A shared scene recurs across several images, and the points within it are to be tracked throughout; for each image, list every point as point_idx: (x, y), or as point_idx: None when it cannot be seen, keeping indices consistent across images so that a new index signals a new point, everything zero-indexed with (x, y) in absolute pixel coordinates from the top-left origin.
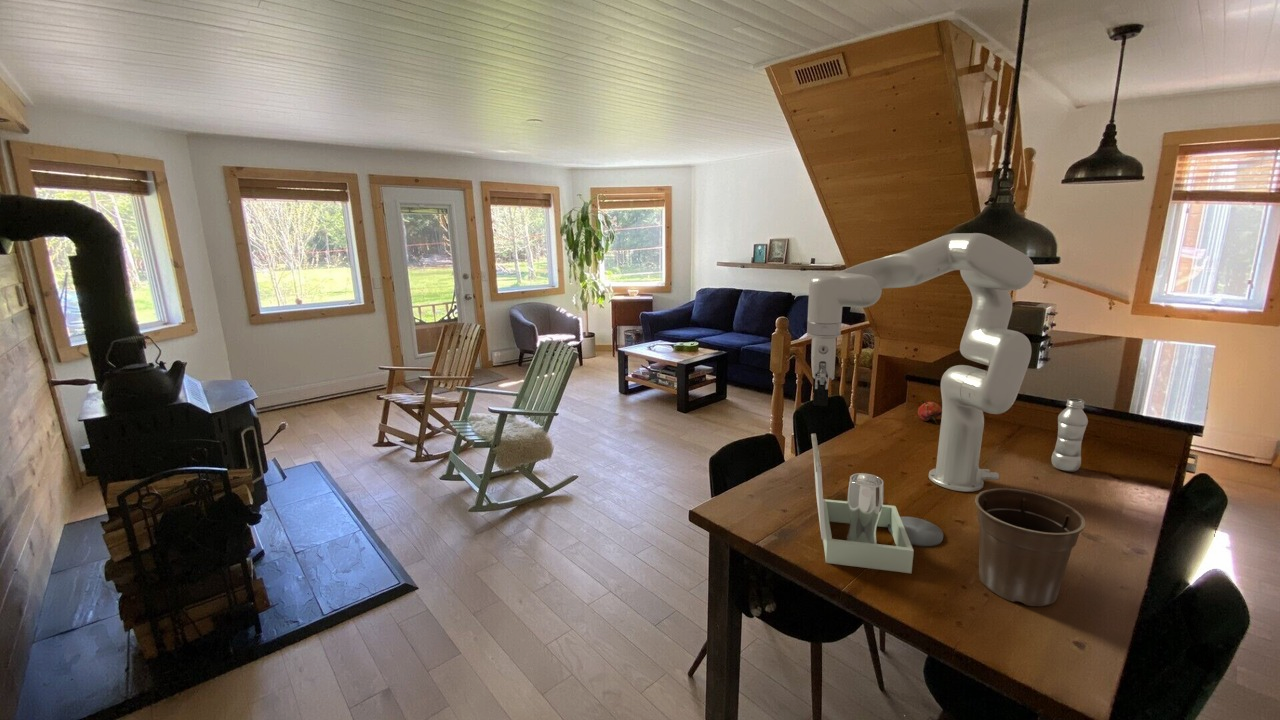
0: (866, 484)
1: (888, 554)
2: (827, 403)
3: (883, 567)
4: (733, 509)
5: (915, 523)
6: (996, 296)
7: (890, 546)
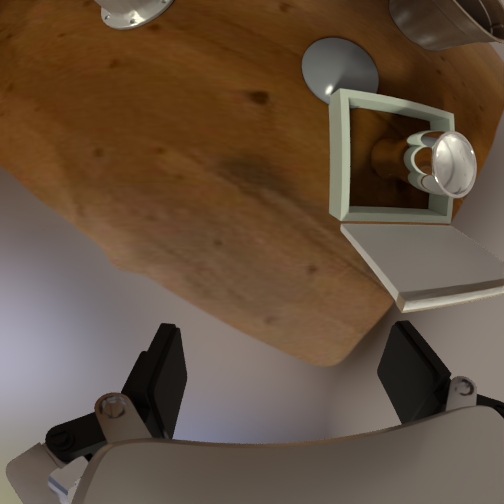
0: (418, 152)
1: None
2: (411, 324)
3: None
4: (318, 337)
5: (323, 64)
6: None
7: None
